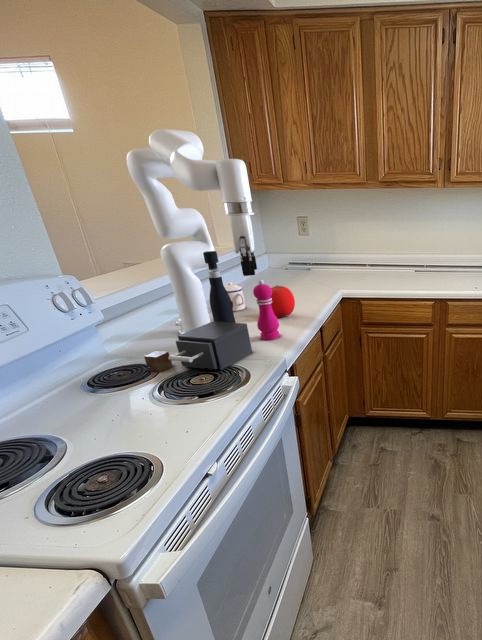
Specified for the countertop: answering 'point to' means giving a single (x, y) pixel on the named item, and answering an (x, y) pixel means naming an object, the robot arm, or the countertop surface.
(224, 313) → the wine bottle
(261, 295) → the pepper mill
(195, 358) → the drawer
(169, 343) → the countertop surface
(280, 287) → the tomato
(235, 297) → the teacup with lid
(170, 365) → the block
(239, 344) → the cabinet
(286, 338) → the countertop surface
